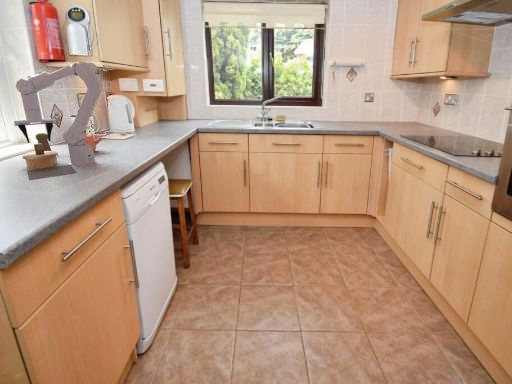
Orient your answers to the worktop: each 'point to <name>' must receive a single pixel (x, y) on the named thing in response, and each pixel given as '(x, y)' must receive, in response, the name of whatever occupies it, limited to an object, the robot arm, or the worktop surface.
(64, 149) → the worktop surface
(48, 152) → the lid
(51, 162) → the bowl
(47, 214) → the worktop surface
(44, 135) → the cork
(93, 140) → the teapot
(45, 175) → the mat
